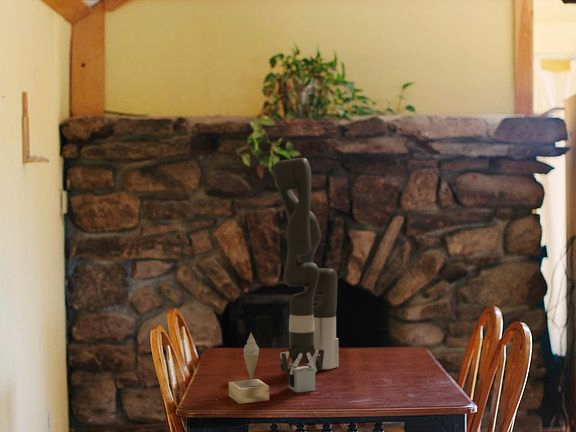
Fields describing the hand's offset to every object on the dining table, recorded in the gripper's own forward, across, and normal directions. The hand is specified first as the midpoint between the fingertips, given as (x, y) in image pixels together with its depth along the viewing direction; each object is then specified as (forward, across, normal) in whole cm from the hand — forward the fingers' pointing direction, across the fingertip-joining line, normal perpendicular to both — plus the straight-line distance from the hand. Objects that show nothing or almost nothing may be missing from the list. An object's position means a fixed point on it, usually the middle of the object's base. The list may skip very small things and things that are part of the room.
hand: (301, 385), depth 230 cm
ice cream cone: (+1, +10, -17) cm, 20 cm away
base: (+1, +18, +3) cm, 18 cm away
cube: (+1, 0, 0) cm, 1 cm away
